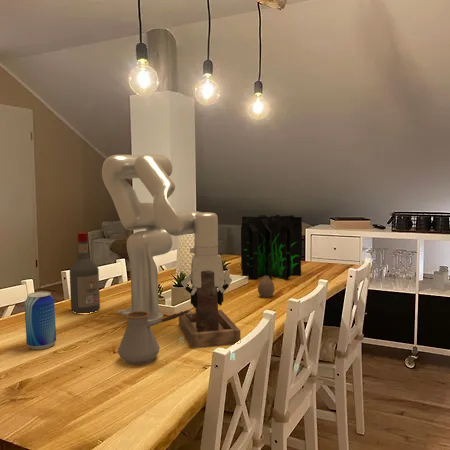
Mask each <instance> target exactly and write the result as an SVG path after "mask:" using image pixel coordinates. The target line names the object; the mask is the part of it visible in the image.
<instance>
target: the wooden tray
mask: <svg viewBox="0 0 450 450" xmlns="http://www.w3.org/2000/svg"><path fill="white" fill-rule="evenodd" d="M191 313H192V317H191ZM191 313H190V312H188V313H187V314H184V315H183V316H179V317H178V325H179V327H180V329H181V331H182V332H183V334H184V336H185V338H186V340H187V342H188V344H189V346H190V347H191V349H197V348H198V349H199V348H206V347H215V346H226V345H235V344H234V343H236V342H238V341H239V340H240V341H241V329H240V328H239V327H238V326H237V325H236V324H235V323H234V322H233V321H232V320H231V319H230V318H229V317H228V315H227V314H226V313H225V312H224V311H223V310H222V309H218V318H219V329H218V330H216V331H205V332H203V331H200V330H199V329H197V328H196V311H191ZM188 314H189V316H190V317H189V316H188Z"/></svg>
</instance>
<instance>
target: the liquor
mask: <svg viewBox="0 0 450 450" xmlns="http://www.w3.org/2000/svg"><path fill="white" fill-rule="evenodd" d="M88 234H89V233H88V232H77V242H78V244H77V245H78V256H77V259H76V261H75V262H74V263H73V264H72V266H71V267H70V269H69V286H70V287H69V289H70V290H69V291H70V310H71V312H72V311H74V312H76V313H90V312H95V311H98V312H99V310H100V308H101V301H100V300H101V299H100V298H101V297H100V273H99V271H100V270H99V267H98V265H97V264H96V263H95V262H93V260H92V259H91V258H90V255H89V244H88V243H89V242H88V241H89V235H88ZM76 313H75V314H76ZM95 313H96V312H95Z"/></svg>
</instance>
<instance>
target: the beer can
mask: <svg viewBox="0 0 450 450" xmlns="http://www.w3.org/2000/svg"><path fill="white" fill-rule="evenodd" d="M26 296H27V298H26V299H25V301H24V315H25V316H24V319H25V337H26V339H25V340H26V345H27V346H28V347H29V349H31V350H34V349H40V350H44V349H45V348H46V349H49V348H52V347H53V346H54V345H55V342H56V341H57V329H56V327H57V326H56V310H55V309H56V307H55V305H56V304H55V299H54V297H53V296H52V293H51V292H50V291H35V292H34V291H33V292H30V293H27V295H26ZM51 346H52V347H51ZM46 349H45V350H46Z"/></svg>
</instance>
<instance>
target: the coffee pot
mask: <svg viewBox="0 0 450 450" xmlns="http://www.w3.org/2000/svg"><path fill="white" fill-rule="evenodd" d="M188 312H190V313H191V312H192V311H191V310H190V309H187V310H184V311H182V310H181V311H179V312H177V313H173V314H171V315H168V316H166V317H163V319H161V320H159V321H156V322H153V323H148V322H147V320H148V317H149V315H150V314H149V313H148V312H143V311H138V312H131V313H128V314H127V315H126V316H125V317H126V318H127V321H128V324H127V325H126V329H125V331H124V333H123V336H122V339H121V341H120V344H119V345H118V346H119V347H118V348H117V353H118V356H119V357H120V358H121V359H122V360H124V361H125V363H126V364H129V365H143V364H144V365H145V364H148V363H150V362H152V361H153V360H154V358H156V357H157V355H158V354H159V353H160V345H159V343H158V341H157V339H156V336H155V334H154V332H153V330H152V328H151V327H153V326H156V325H159V324H161V323H166V322H168V321H172V320H175V319H177V318H179V316H183V315H184V314H187V313H188ZM188 316H189V314H188ZM189 317H190V316H189ZM191 317H192V313H191Z"/></svg>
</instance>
